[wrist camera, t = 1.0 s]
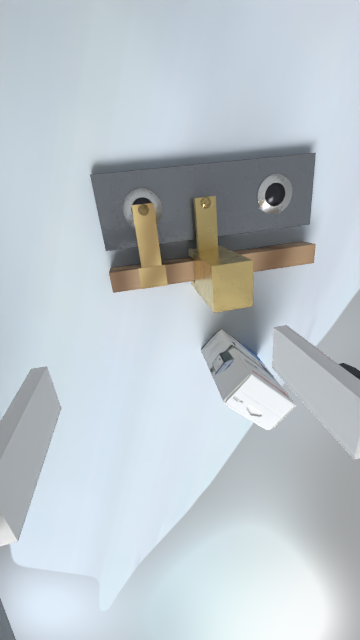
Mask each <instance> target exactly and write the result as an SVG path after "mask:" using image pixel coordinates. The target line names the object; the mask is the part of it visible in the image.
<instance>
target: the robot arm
mask: <svg viewBox="0 0 360 640" xmlns="http://www.w3.org/2000/svg"><path fill="white" fill-rule="evenodd" d="M272 368H273V369H274V371H275V372H276V373H277V374H278V375H279V376H280V377H281V378H282V379H283V381H284V382H285V383H286V384H287V385H288V386H289V387H290V388H291V390H292V391H293V392H294V393H295V394H296V395H297V396H298V397H299V398H300V400H301V401H302V402H303V403H304V404H305V405H306V406H307V407H308V408H309V410H310V411H311V412H312V413H313V414H314V415H315V416H316V417H317V419H318V420H319V421H320V422H321V423H322V424H323V425H324V426H325V427H326V429H327V430H328V431H329V432H330V433H331V434H332V435H333V437H334V438H335V439H336V440H337V441H338V442H339V443H340V444H341V445H342V447H343V448H344V449H345V450H346V451H347V452H348V453H349V454H350V455H351V457H352V458H353V459H358V458H360V371H359V370H357V369H356V368H354V367H352V366H349V365H347V364H344V363H341V364H338V363H336V362H335V361H334V360H332V359H331V358H330V357H328V356H327V355H326V354H324V353H323V352H322V351H320V350H319V349H318V348H316V347H315V346H314V345H312V344H311V343H310V342H308V341H307V340H306V339H304V338H303V337H302V336H300V335H299V334H298V333H296V332H295V331H294V330H292V329H291V328H290V327H288V326H287V325H285V326H279V327H274V341H273V362H272ZM60 411H61V406H60V403H59V400H58V397H57V394H56V392H55V389H54V386H53V383H52V380H51V377H50V374H49V371H48V368H47V366H46V367H40V368H34V369H31V370H30V372H29V374H28V375H27V377H26V379H25V381H24V382H23V384H22V386H21V387H20V389H19V391H18V392H17V394H16V396H15V398H14V399H13V401H12V403H11V404H10V406H9V408H8V410H7V411H6V413H5V415H4V416H3V418H2V420H1V421H0V546H3V545H7V544H11V543H15V542H18V540H19V537H20V534H21V531H22V528H23V525H24V521H25V518H26V515H27V512H28V509H29V506H30V503H31V500H32V497H33V494H34V491H35V488H36V485H37V481H38V478H39V475H40V472H41V469H42V466H43V463H44V460H45V457H46V454H47V451H48V448H49V445H50V441H51V438H52V435H53V432H54V429H55V426H56V423H57V420H58V417H59V414H60ZM0 640H16V639H15V637H14V634H13V631H12V629H11V626H10V623H9V621H8V618H7V615H6V613H5V610H4V607H3V605H2V602H1V599H0Z"/></svg>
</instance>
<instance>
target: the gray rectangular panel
mask: <svg viewBox="0 0 360 640" xmlns="http://www.w3.org/2000/svg"><path fill="white" fill-rule="evenodd" d="M315 154H316V153H309V154H298V155H288V156H278V157H268V158H257V159H247V160H237V161H227V162H216V163H206V164H196V165H186V166H175V167H165V168H155V169H145V170H134V171H124V172H114V173H104V174H93V175H90V177H91V181H92V186H93V191H94V196H95V201H96V205H97V210H98V215H99V220H100V225H101V229H102V234H103V239H104V244H105V249H106V251H109V250H117V249H124V248H132V247H138V243H137V236H136V230H135V224H134V218H133V212H132V205H138V204H147V203H154V209H155V217H156V225H157V232H158V240H159V244H163V243H170V242H178V241H186V240H194V239H196V229H195V216H194V203H193V198H201V197H210V196H216V211H217V233H218V236H224V235H232V234H240V233H247V232H255V231H263V230H270V229H278V228H286V227H293V226H301V225H309V224H310V214H311V202H312V190H313V178H314V166H315Z"/></svg>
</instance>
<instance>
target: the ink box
mask: <svg viewBox="0 0 360 640" xmlns="http://www.w3.org/2000/svg"><path fill="white" fill-rule="evenodd" d="M201 351H202V354H203V356H204V358H205V361H206V363H207V365H208V367H209V370H210V372H211V374H212V376H213V379H214V381H215V383H216V385H217V388H218V390H219V392H220V395H221V397H222V399H223V402H224V403H225V404H226V405H227V406H228V407H230V408H232V409H233V410H234V411H236V412H238V413H240V414H242V415H243V416H245V417H246V418H247V419H249V420H251V421H253V422H254V423H256V424H257V425H259V426H261V427H263V428H264V429H266V430H272V429H273V428H274V427H275V426H277V424H278V423H279V422H280V421H281V420H282V419H283V418H285V417H286V416H287V415H288V414H289V413H290V411H292V409H294V408H295V406H296V404H295V403H294V402H293V400H292V399H291V398H290V397H289V395H288V394H287V393H286V392H285V390H284V389H283V388H282V387H281V385H280V384H279V383H278V382H277V381H276V379H275V378H274V377H273V375H272V374H271V373H270V372H269V370H268V369H267V368H266V367H265V365H264V364H263V363H262V361H261V360H260V359H259V358H258V356H256V355H255V354H254V353H252V352H251V351H250V350H248V349H247V348H246V347H244V346H243V345H242V344H240V343H239V342H238V341H236V340H235V339H234V338H233V337H231V336H230V335H229V334H227V333H226V332H225V331H224V330H222V329H221V330H220V331H219V332H217V333H216V334H215V335H214V336H213V337H212V338H211V340H210V341H209V342H208V343H207V344H206V345H205V346H204V347H203V349H202V350H201Z"/></svg>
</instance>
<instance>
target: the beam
mask: <svg viewBox="0 0 360 640" xmlns="http://www.w3.org/2000/svg"><path fill="white" fill-rule="evenodd" d="M132 212H133V218H134V224H135V230H136V236H137V243H138V249H139V255H140V261H141V264H136V265H129V266H121V267H114V268H110V272H109V275H110V280H111V284H112V289H113V293H114V292H121V291H128V290H135V289H141V288H142V289H145V288H151V287H158V286H165V285H168V284H175V283H182V282H188V281H195V273H194V261H193V259H192V258H191V257H187V258H179V259H172V260H165V261H161V255H160V248H159V240H158V232H157V225H156V217H155V209H154V203H147V204H138V205H132ZM315 245H316V244H312V243H308V242H296V243H288V244H281V245H274V246H267V247H259V248H252V249H245V250H238V251H233V252H235V253H238V254H240V255H242V256H244V257H247V258H249V259H251V260H253V272H256V271H263V270H269V269H276V268H283V267H290V266H296V265H303V264H310V263H314V255H315Z"/></svg>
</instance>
